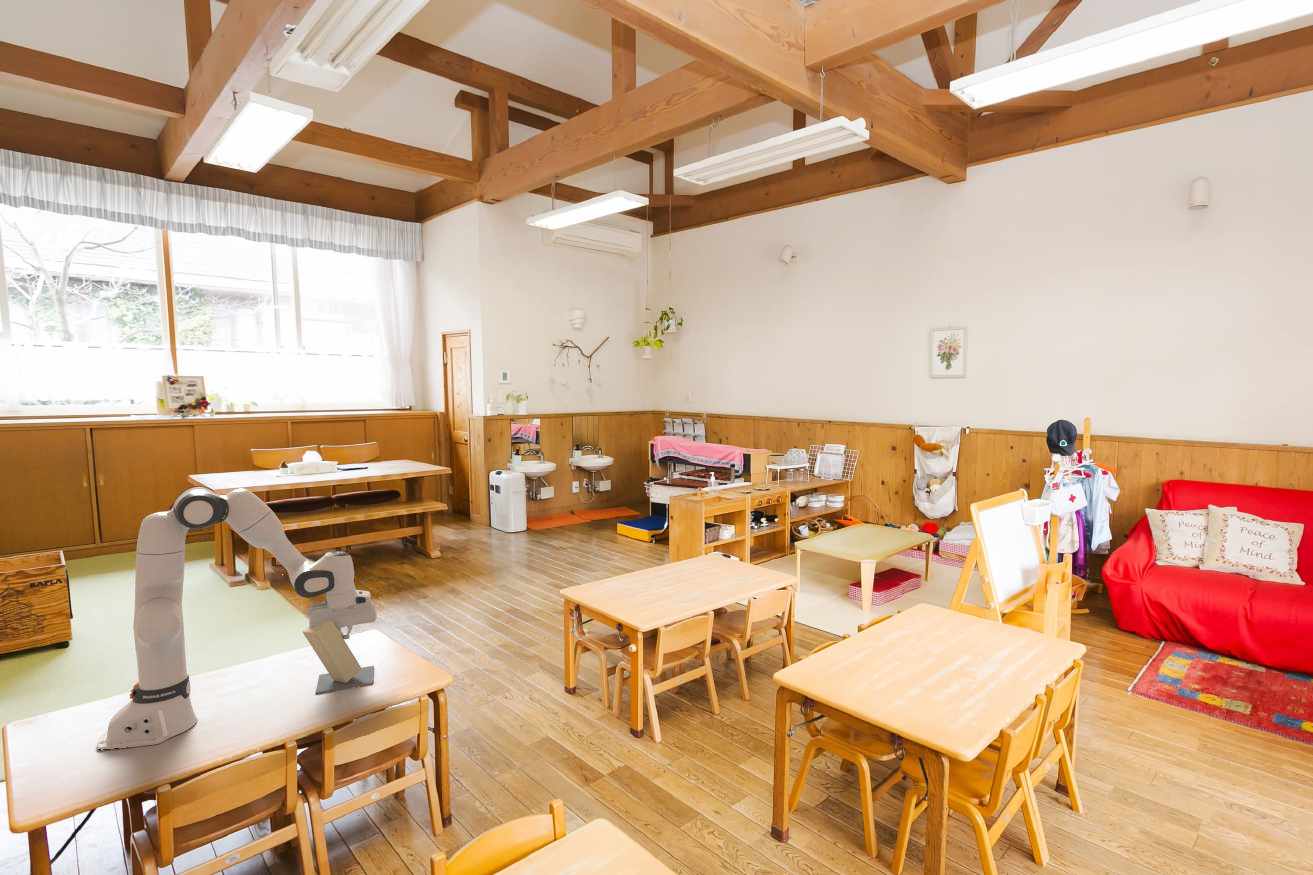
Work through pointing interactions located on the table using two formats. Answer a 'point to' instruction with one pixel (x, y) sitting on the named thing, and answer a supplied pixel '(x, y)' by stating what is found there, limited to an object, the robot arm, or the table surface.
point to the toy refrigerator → (332, 651)
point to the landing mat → (331, 685)
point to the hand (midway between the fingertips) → (345, 638)
